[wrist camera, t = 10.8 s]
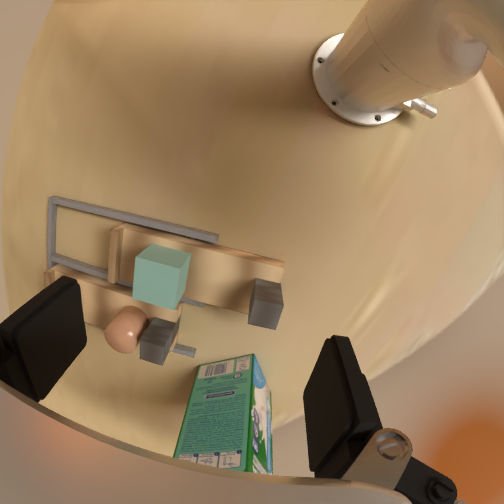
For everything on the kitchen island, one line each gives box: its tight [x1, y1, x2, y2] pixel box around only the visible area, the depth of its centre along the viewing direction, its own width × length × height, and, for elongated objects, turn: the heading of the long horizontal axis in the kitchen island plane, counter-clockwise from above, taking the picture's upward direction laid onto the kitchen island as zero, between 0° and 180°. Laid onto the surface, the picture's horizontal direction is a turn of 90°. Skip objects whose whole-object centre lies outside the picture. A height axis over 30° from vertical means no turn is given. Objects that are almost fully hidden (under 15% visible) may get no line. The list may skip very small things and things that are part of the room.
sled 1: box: [44, 264, 182, 365], centre depth 35 cm, size 21×7×8 cm, turn 76°
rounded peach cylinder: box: [105, 306, 149, 354], centre depth 34 cm, size 4×4×5 cm
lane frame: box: [47, 196, 219, 358], centre depth 37 cm, size 26×19×1 cm
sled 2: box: [108, 223, 285, 330], centre depth 33 cm, size 21×7×8 cm, turn 76°
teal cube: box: [132, 244, 191, 310], centre depth 32 cm, size 5×5×5 cm
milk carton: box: [173, 354, 273, 475], centre depth 31 cm, size 9×9×25 cm
